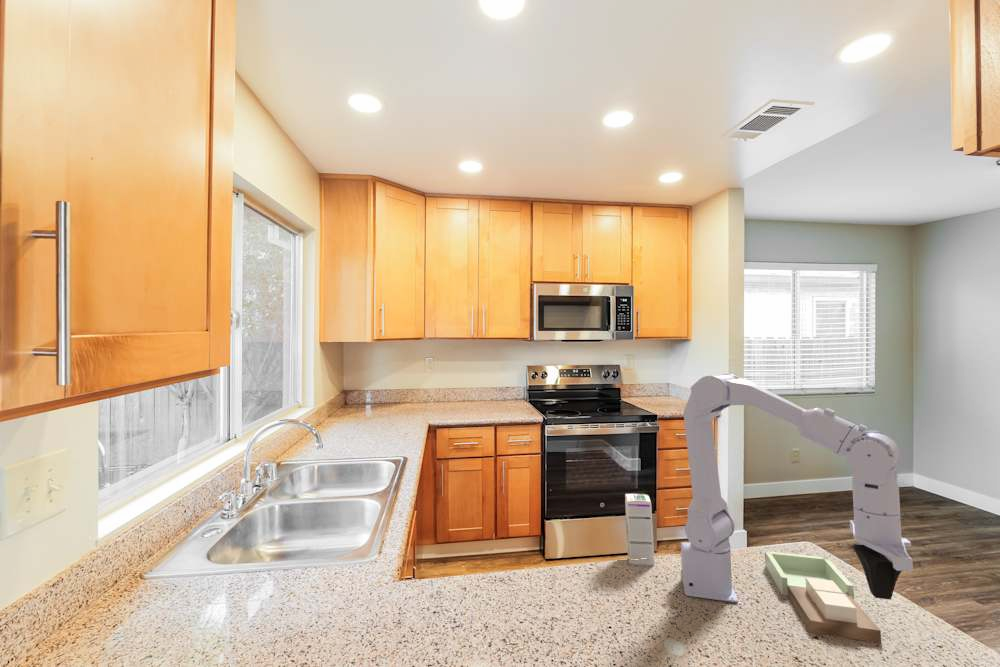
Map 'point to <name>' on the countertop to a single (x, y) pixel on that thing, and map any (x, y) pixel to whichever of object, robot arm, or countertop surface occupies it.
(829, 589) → the tile
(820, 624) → the board
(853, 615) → the tile
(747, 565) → the countertop surface
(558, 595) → the countertop surface
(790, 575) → the tray
